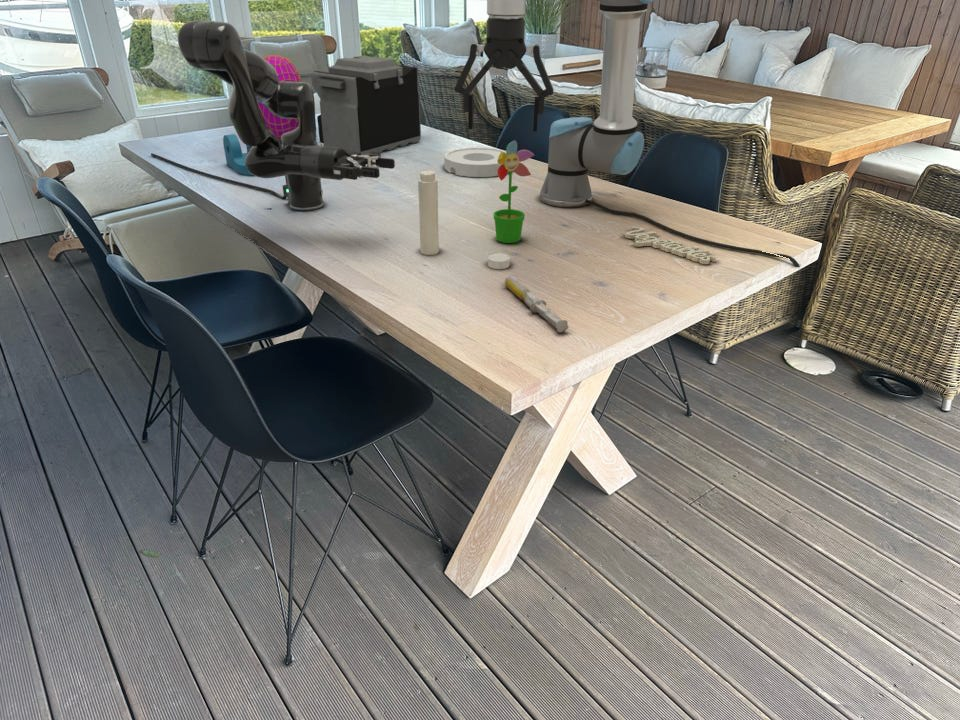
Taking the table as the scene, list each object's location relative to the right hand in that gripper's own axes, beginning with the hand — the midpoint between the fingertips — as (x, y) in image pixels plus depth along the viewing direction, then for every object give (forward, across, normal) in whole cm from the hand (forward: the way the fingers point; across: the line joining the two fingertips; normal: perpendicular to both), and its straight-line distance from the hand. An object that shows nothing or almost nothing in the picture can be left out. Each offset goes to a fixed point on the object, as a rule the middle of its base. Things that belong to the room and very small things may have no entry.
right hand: (502, 129), depth 145 cm
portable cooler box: (+31, +58, -108) cm, 126 cm away
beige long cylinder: (+31, +18, -6) cm, 36 cm away
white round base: (+31, +14, -83) cm, 90 cm away
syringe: (+31, -9, +22) cm, 39 cm away
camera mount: (+31, +89, -71) cm, 118 cm away
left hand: (+11, +28, -8) cm, 31 cm away
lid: (+29, 0, 0) cm, 29 cm away
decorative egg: (+31, +93, -112) cm, 149 cm away
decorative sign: (+31, -40, -16) cm, 53 cm away
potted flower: (+31, -1, -17) cm, 35 cm away
